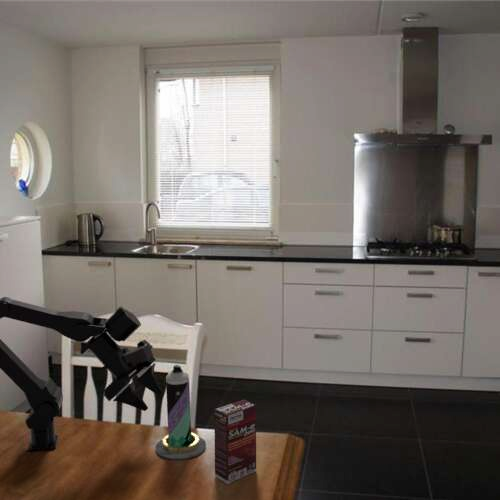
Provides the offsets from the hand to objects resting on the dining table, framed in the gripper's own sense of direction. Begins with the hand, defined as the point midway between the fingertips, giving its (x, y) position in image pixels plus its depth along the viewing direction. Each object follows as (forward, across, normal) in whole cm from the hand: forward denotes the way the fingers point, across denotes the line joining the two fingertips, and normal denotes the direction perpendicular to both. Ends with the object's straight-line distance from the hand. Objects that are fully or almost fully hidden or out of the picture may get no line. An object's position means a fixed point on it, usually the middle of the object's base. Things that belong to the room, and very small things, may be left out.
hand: (154, 401), depth 152 cm
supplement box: (+24, -9, -8) cm, 27 cm away
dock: (+12, 0, +3) cm, 13 cm away
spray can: (+12, 0, +3) cm, 12 cm away
